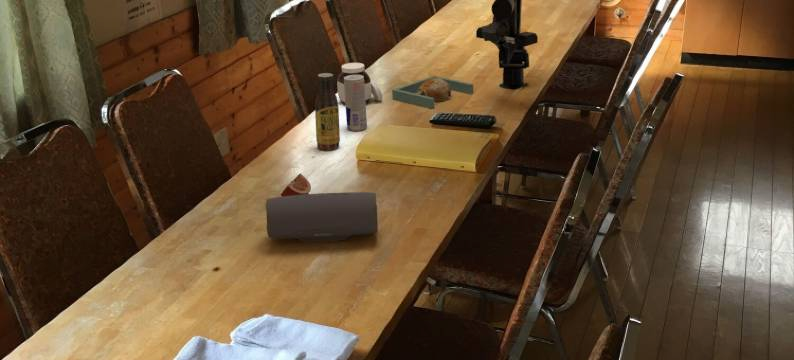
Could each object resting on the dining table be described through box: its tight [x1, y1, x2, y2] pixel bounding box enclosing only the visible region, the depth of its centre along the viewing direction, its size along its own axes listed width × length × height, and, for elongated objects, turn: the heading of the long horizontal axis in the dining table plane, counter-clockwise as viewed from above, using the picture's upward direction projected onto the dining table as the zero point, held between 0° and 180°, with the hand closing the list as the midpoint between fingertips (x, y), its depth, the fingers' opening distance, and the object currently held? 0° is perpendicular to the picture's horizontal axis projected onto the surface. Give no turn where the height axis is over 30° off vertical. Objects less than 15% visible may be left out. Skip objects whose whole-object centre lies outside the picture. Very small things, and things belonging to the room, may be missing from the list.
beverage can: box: [344, 75, 368, 132], centre depth 261 cm, size 6×6×15 cm
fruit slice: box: [280, 173, 312, 197], centre depth 218 cm, size 8×7×5 cm
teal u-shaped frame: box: [391, 75, 474, 110], centre depth 288 cm, size 19×16×3 cm
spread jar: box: [336, 62, 383, 106], centre depth 284 cm, size 12×11×12 cm
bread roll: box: [417, 78, 452, 103], centre depth 286 cm, size 10×10×8 cm
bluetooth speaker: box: [265, 191, 379, 243], centre depth 197 cm, size 23×9×10 cm, turn 92°
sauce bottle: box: [314, 72, 341, 151], centre depth 247 cm, size 6×6×20 cm
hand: (506, 64), depth 274 cm, fingers closed
